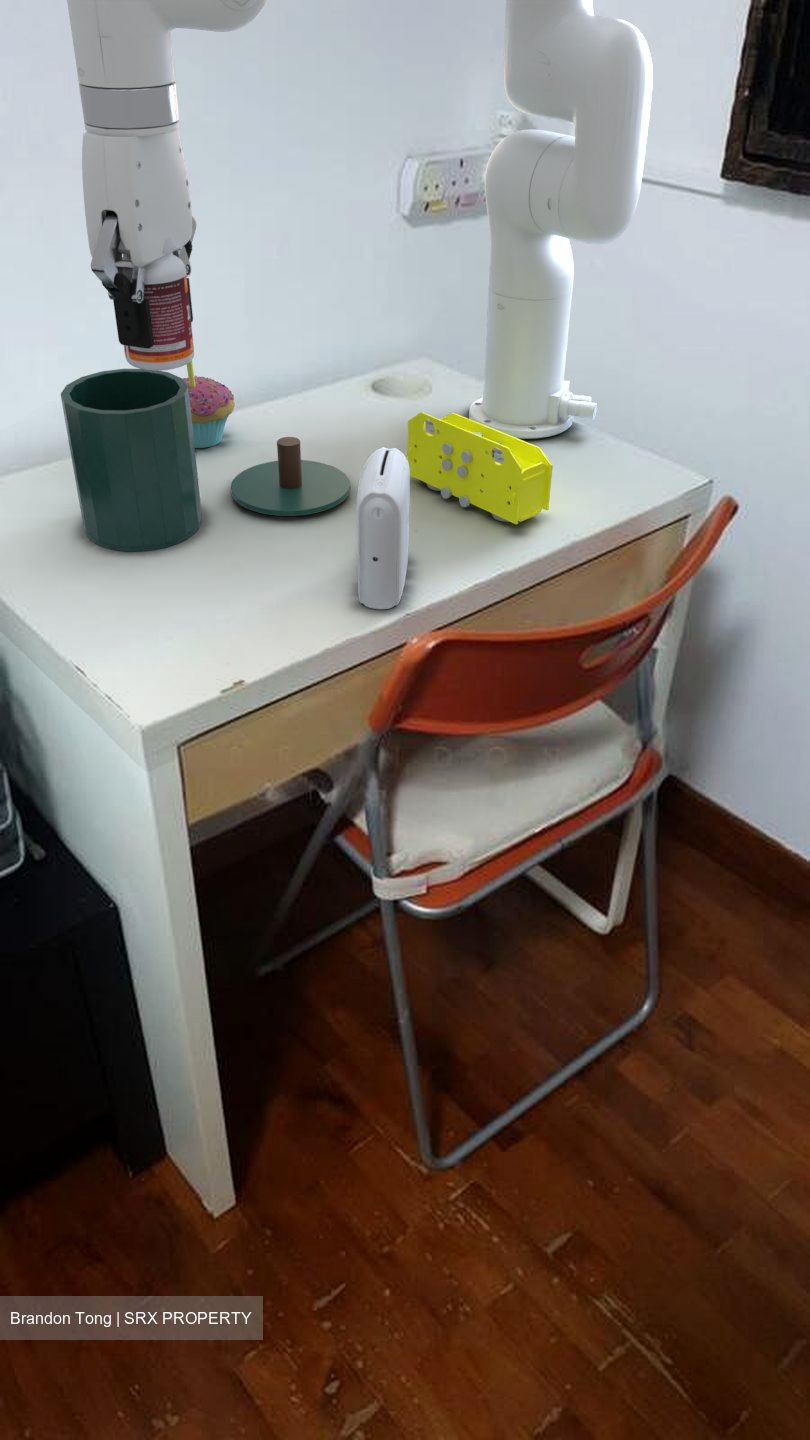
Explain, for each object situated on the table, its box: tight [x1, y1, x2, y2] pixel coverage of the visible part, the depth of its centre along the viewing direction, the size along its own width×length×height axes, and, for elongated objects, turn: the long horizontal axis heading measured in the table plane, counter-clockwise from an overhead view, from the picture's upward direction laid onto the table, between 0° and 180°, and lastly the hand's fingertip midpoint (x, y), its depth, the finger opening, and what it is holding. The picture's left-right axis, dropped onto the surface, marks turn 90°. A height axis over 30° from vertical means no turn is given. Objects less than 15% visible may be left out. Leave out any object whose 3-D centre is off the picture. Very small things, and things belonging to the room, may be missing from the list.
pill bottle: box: [122, 235, 195, 371], centre depth 100 cm, size 6×6×11 cm
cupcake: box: [182, 360, 236, 449], centre depth 130 cm, size 9×8×12 cm
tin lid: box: [230, 436, 351, 517], centre depth 120 cm, size 13×13×6 cm
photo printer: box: [356, 446, 411, 610], centre depth 103 cm, size 10×4×12 cm, turn 175°
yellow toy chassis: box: [407, 411, 553, 525], centre depth 119 cm, size 16×6×8 cm, turn 43°
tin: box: [60, 368, 203, 552], centre depth 112 cm, size 12×12×14 cm
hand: (157, 331), depth 102 cm, fingers closed on pill bottle, 6 cm apart
